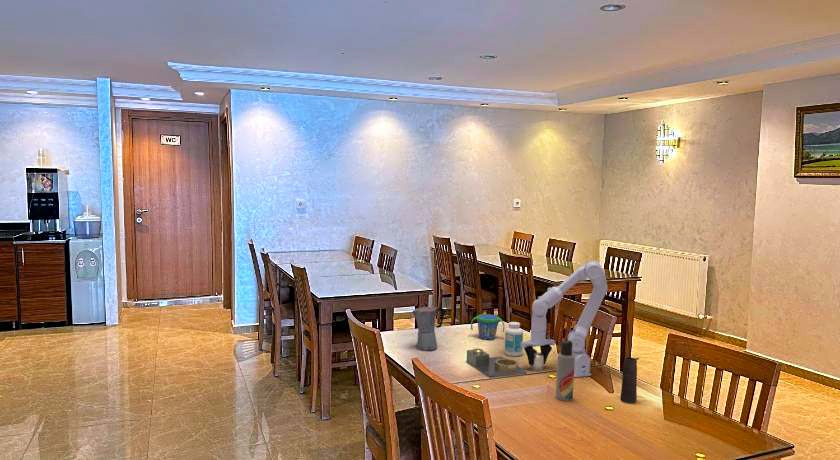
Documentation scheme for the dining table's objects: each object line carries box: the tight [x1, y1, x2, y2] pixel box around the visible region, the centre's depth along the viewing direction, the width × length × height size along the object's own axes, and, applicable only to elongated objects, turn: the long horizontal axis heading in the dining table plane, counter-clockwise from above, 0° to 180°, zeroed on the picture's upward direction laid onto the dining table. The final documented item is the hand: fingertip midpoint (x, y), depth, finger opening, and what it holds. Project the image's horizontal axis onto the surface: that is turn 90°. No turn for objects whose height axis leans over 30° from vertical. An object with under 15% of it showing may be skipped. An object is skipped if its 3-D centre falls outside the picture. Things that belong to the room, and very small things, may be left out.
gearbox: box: [466, 348, 528, 379], centre depth 233 cm, size 20×16×6 cm
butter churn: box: [620, 319, 640, 404], centre depth 201 cm, size 9×10×28 cm
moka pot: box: [411, 302, 446, 352], centre depth 257 cm, size 10×15×20 cm, turn 115°
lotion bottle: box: [555, 339, 575, 402], centre depth 202 cm, size 6×6×20 cm
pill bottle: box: [504, 321, 524, 357], centre depth 252 cm, size 8×7×14 cm
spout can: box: [529, 349, 545, 372], centre depth 233 cm, size 5×5×7 cm
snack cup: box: [470, 313, 505, 341], centre depth 276 cm, size 16×10×10 cm
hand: (537, 364), depth 233 cm, fingers closed on spout can, 5 cm apart
